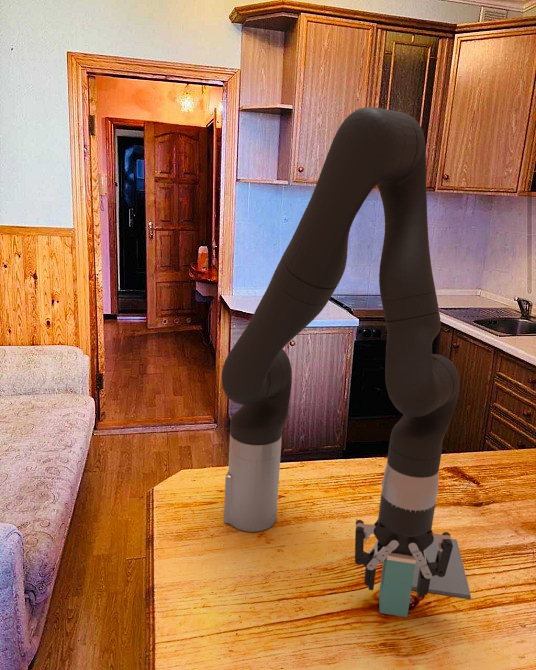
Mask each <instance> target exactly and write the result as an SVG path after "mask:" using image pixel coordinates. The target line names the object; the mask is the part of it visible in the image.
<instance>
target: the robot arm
mask: <svg viewBox="0 0 536 670" xmlns="http://www.w3.org/2000/svg"><path fill="white" fill-rule="evenodd" d="M323 163H324V164H323V165H322V168H321V171H320V174H319V177H318V179H317V182H316V185H315V187H314V190H313V192H312V195H311V197H310V198H309V199H310V200H309V201H308V204H307V206H306V208H305V210H304V213H303V214H302V217H301V218H300V221H299V222H298V224H297V226H296V229H295V232H294V233H293V236H292V238H291V240H290V241H289V244H288V245H287V246H286V249H285V250H284V252H283V254H282V256H281V259H280V261H279V262H278V264H277V267H276V268H275V270H274V272H273V274H272V277H271V279H270V281H269V283H268V285H267V288H266V290H265V291H264V294H263V296H262V297H261V299H260V301H259V303H258V304H257V307H256V308H255V311H254V313H253V314H252V317H251V318H250V320H249V322H248V324H247V326H246V327H245V329H244V330H243V332H242V333H241V335H240V336H239V338H238V339H237V340H236V343H234V345H233V347H232V349H231V350H230V352H229V353H228V354H227V357H226V358H225V360H224V363H223V366H222V371H221V385H222V389H223V391H224V393H225V394H224V395H226V397H227V398H228V399H229V400H230V401H231V402H233V403H235V404H239V405H242V406H241V407H240V408H239V409H238V410H236V412H235V413H234V414H233V415H232V416H231V418H230V422H229V423H230V424H229V447H228V448H229V450H228V452H229V453H228V470H227V472H226V475H225V479H224V481H225V483H224V485H225V486H224V504H223V505H224V507H223V508H224V511H223V523H224V524H228V525H231V526H232V527H233V528H236V529H237V530H240V531H243V532H250V533H252V532H253V533H254V532H255V533H256V532H262V531H265V530H268V529H270V528H271V527H272V526H274V524H275V523H276V521H277V512H278V498H279V484H280V468H281V453H282V452H281V451H282V435H283V428H284V427H285V425H286V423H287V420H288V416H289V415H288V414H289V408H290V400H291V393H292V391H291V390H292V384H293V383H292V382H293V381H292V380H293V373H292V371H293V370H292V365H291V360H290V358H289V356H288V354H287V353H286V351H285V350H284V348H285V347H286V346H287V345H288V344H289V342H291V341H292V340H293V339H294V338H295V337H296V336H298V335H299V333H301V332H302V331H303V330H304V329H305V328H306V327H307V326H308V325H309V324H311V323H312V322H313V321H314V320H315V319H316V317H317V316H319V314H320V313H321V312H322V311H323V309H324V308H325V307H326V305H327V304H328V302H329V300H330V299H331V297H332V296H333V294H334V293H335V291H336V289H337V287H338V285H339V284H340V282H341V280H342V277H343V276H344V273H345V269H346V266H347V261H348V260H347V259H348V251H349V250H348V249H349V246H348V245H349V237H350V232H351V228H352V225H353V223H354V221H355V218H356V216H357V214H358V213H359V212H360V209H361V208H362V206H363V204H364V202H365V200H366V199H367V198H368V196H369V195H370V193H371V192H372V191H373V189H374V187H376V185H377V188H378V192H379V195H380V198H381V203H382V207H383V214H384V215H383V216H384V237H383V242H382V243H383V244H382V251H381V256H380V262H379V269H378V270H379V273H378V283H379V284H378V285H379V286H378V287H379V294H380V300H381V305H382V310H383V311H382V312H383V317H384V321H385V327H386V333H387V334H386V345H385V367H384V368H385V370H384V371H385V373H384V374H385V375H384V378H385V387H386V391H387V393H388V397H389V399H390V401H391V402H392V404H393V407H395V408H396V409H397V411H398V412H399V413H401V414H402V416H401V418H400V419H399V420H398V421H397V422H396V423H395V424H394V426H393V427H392V430H391V433H390V438H389V443H388V452H387V460H386V465H385V468H384V472H383V477H382V481H381V494H380V502H379V507H378V508H379V510H378V517H377V520H376V521H375V522H374V524H369V523H368V524H367V523H365V522H364V521H363V520H361V519H358V520H357V519H356V521H355V538H354V539H355V540H354V541H355V542H354V543H355V544H354V563H355V564H356V565H359V566H360V565H363V566H364V567H365V570H364V576H363V577H364V586H367V587H368V591H374V588H375V580H376V573H377V572H376V570H377V567H378V566H379V564H380V563H383V561H384V560H385V559H386V558H387V555H389V554H390V553H396V554H403V555H409V556H413V557H414V559H416V563H417V565H418V567H419V568H420V570H419V576H418V583H417V590H416V594H417V598H418V599H424V596H425V595H426V596H427V595H428V593H429V592H428V591H429V585H430V579H431V577H432V576H435V575H438V576H439V577H444V576H445V574H446V570H447V567H448V563H449V559H450V556H451V552H452V548H453V544H452V540H451V539H452V537H451V533H449V532H447V531H444V532H443V533H441V534H440V533H434V532H433V530H432V528H433V522H434V516H435V509H436V504H437V496H438V490H439V479H440V478H439V473H440V472H439V471H440V466H441V465H440V464H441V459H442V458H441V457H442V451H443V443H444V440H445V439H444V438H445V435H446V434H447V431H448V428H449V426H450V423H451V420H452V418H453V415H454V412H455V408H456V406H457V404H458V399H459V395H460V387H461V386H460V383H461V382H460V374H459V372H458V369H457V367H456V366H455V364H454V363H453V362H452V361H451V360H450V359H449V358H447V357H446V356H444V355H441V354H438V353H437V354H436V353H433V342H434V340H435V338H436V337H437V336H438V335H439V333H440V331H441V326H442V324H441V323H442V321H441V316H440V314H441V313H440V309H439V304H438V298H437V292H436V291H437V290H436V287H435V281H434V275H433V268H432V260H431V254H430V253H431V252H430V242H429V226H428V200H427V199H428V197H427V196H428V195H427V149H426V139H425V134H424V132H423V129H422V126H421V125H420V123H419V122H418V120H416V118H414V117H413V116H411V115H409V114H408V113H405V112H402V111H397V110H392V109H391V110H390V109H388V108H387V109H386V108H380V107H375V106H366V107H364V106H363V107H361V108H357V109H356V110H355V111H352V113H350V114H348V116H346V118H345V119H344V120H343V121H342V123H341V124H340V126H339V128H338V130H336V134H335V135H334V137H333V140H332V141H331V145H330V147H329V150H328V152H327V155H326V157H325V161H324V162H323ZM371 535H374V537H375V538H376V541H375V543H374V545H373V547H372V548H371V549H370V550H369V551H368V552H366V551H364V547H365V545H364V541H365V542H366V541H367V540H369V539H370V536H371ZM433 542H434V543H435V544H436V548H437V550H438V552H437V556H436V559H435V562H429V560H428V558H427V556H426V554H425V551H424V550H425V549H426V548H427V547H429V546H430V545H431V544H432V543H433Z"/></svg>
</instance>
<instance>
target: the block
mask: <svg viewBox="0 0 536 670" xmlns="http://www.w3.org/2000/svg"><path fill="white" fill-rule="evenodd" d="M415 563H416V559H414V557H413V556H409V555H403V554H396V553H390V554H389V555H387V558H386V559H385V560H384V561H383V562H382V569H381V574H380V575H381V577H380V582H379V583H380V584H379V591H378V601H379V602H378V603H379V614H384V615H391V616H397V617H402V618H408V614H409V607H410V603H411V602H410V600H411V595H412V594H411V593H412V590H411V589H412V583H413V576H414V570H415Z"/></svg>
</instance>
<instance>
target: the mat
mask: <svg viewBox="0 0 536 670" xmlns="http://www.w3.org/2000/svg"><path fill="white" fill-rule="evenodd" d="M451 540H452V544H453V548H452V552H451V556H450V559H449V563H448V567H447V570H446V574H445V576H444V577H439V576H438V575H435V576H432V577H431V579H430V585H429V591H428V593H431V594H436V595H437V594H438V595H442V596H450V597H458V598H461V599H462V598H463V599H469V600H470V599H471V591H470V587H469V584H468V579H467V575H466V571H465V566H464V564H463V559H462V555H461V551H460V548H459V544H458V540H457V538H456V539H455V538H451ZM424 551H425V554H426V556H427V558H428V560H429V562H435V559H436V556H437V552H438V550H437V548H436V544H435V543H434V542H433V543H432V544H431V545H430V546H429V547H427V548H426V549H425V550H424ZM419 570H420V568H419V567H418V565H417V563H415V570H414V576H413V583H412V589H411V591H417V583H418V576H419Z"/></svg>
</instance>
